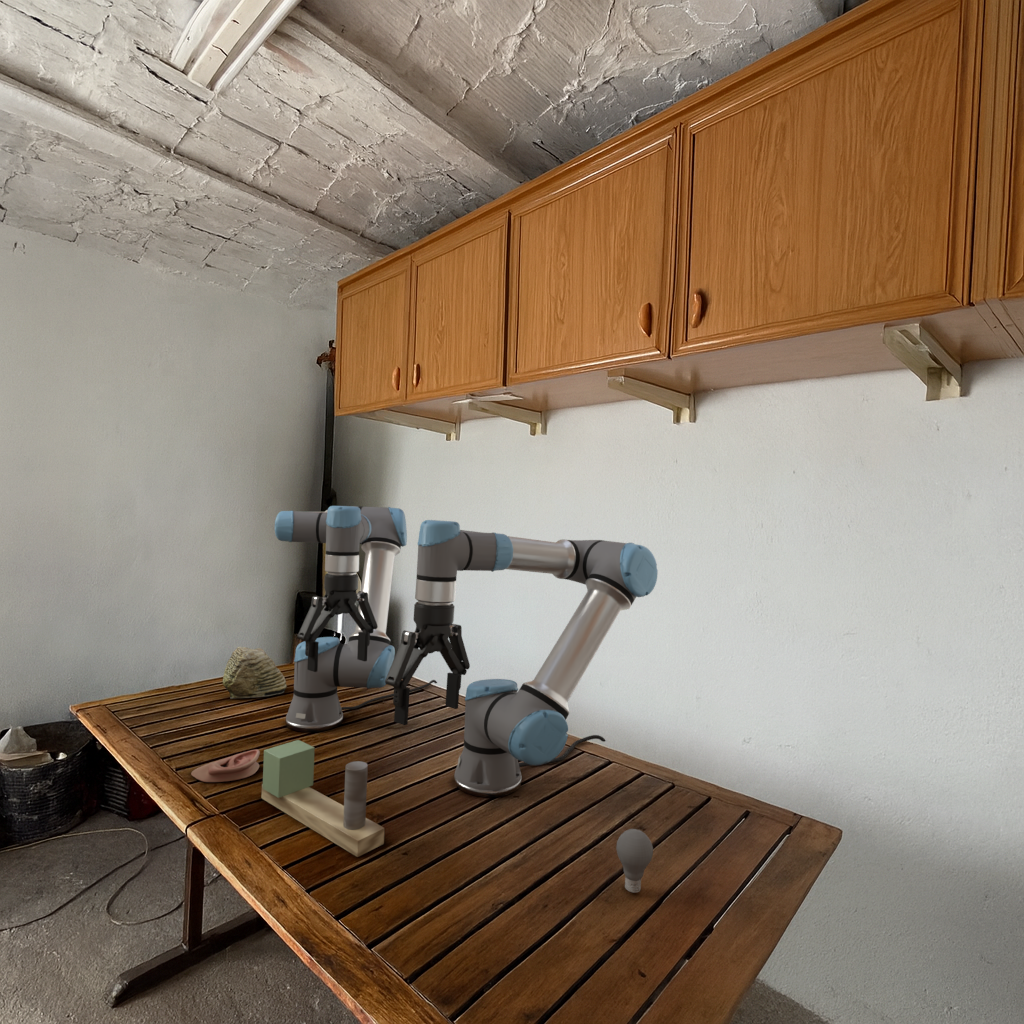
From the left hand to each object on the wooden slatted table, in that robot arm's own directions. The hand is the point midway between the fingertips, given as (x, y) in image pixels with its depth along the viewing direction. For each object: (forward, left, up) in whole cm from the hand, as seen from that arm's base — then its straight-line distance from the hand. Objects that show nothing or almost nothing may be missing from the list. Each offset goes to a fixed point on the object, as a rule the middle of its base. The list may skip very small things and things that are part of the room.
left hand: (338, 665), depth 146 cm
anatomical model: (+17, -17, -25) cm, 34 cm away
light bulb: (-7, +73, -25) cm, 77 cm away
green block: (+15, +5, -22) cm, 27 cm away
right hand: (+6, +35, -1) cm, 36 cm away
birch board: (+15, +16, -25) cm, 33 cm away
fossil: (-16, -63, -25) cm, 70 cm away
